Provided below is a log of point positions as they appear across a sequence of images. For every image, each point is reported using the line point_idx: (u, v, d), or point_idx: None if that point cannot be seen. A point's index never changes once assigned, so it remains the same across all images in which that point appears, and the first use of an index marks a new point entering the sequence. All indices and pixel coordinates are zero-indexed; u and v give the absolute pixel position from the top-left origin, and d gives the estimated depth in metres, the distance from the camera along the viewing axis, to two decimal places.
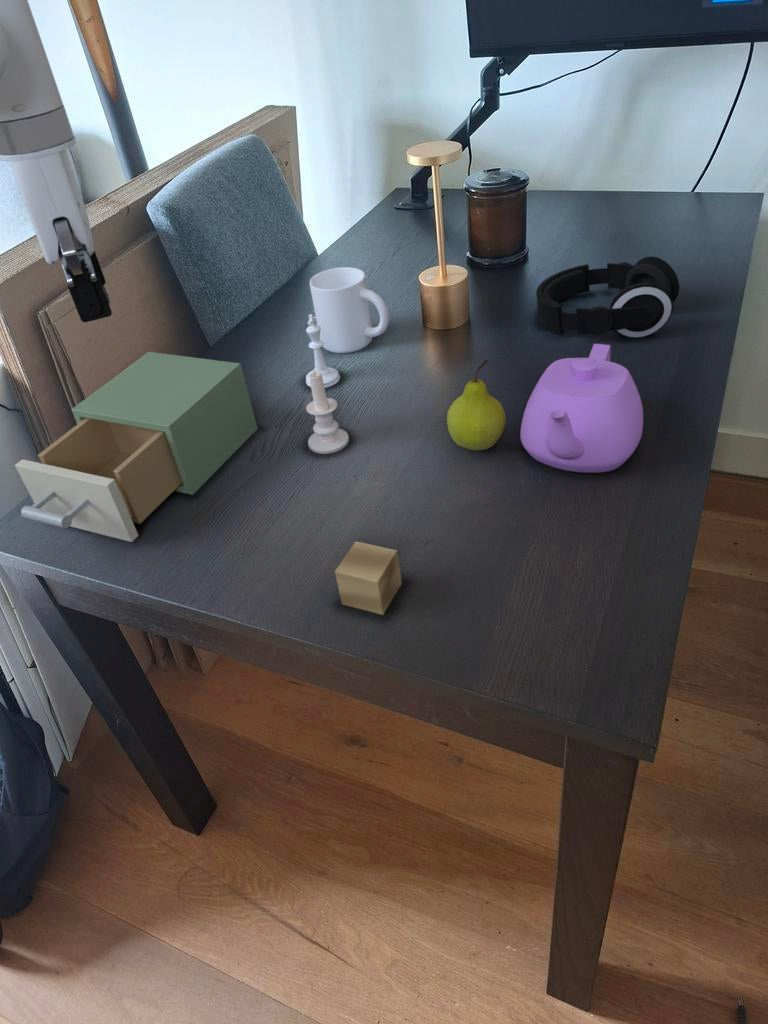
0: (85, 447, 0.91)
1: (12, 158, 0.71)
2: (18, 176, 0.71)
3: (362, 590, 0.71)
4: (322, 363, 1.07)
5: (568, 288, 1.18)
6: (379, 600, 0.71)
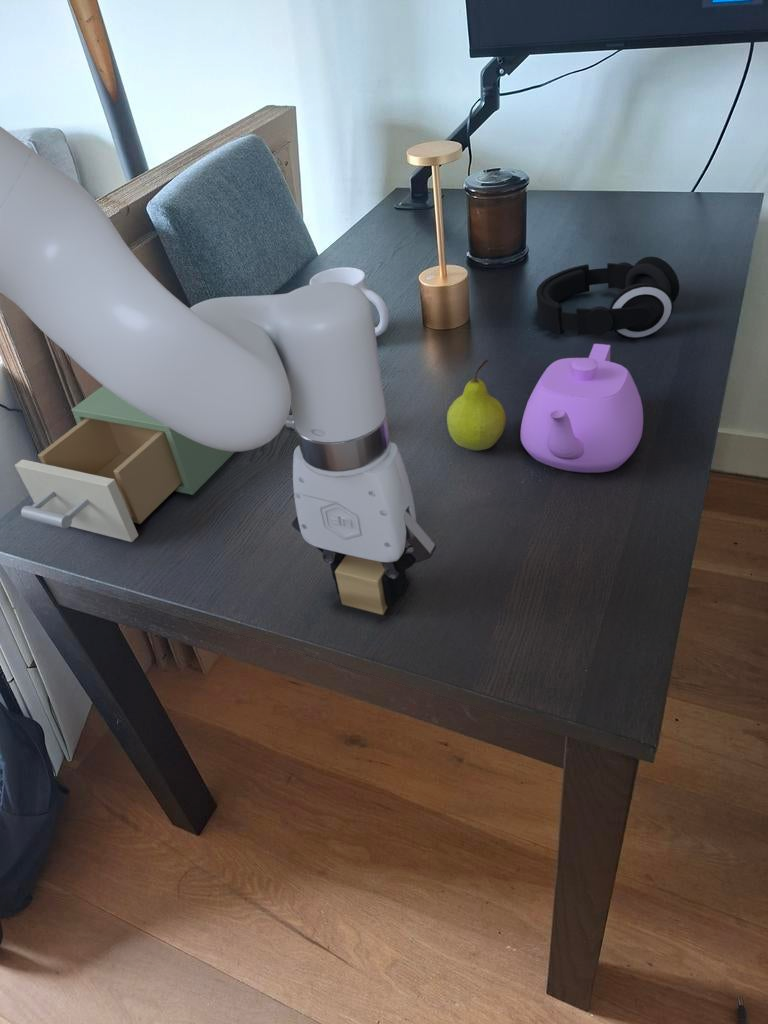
0: (85, 447, 0.91)
1: (366, 468, 0.61)
2: (382, 484, 0.61)
3: (362, 590, 0.71)
4: None
5: (568, 288, 1.18)
6: (379, 600, 0.71)
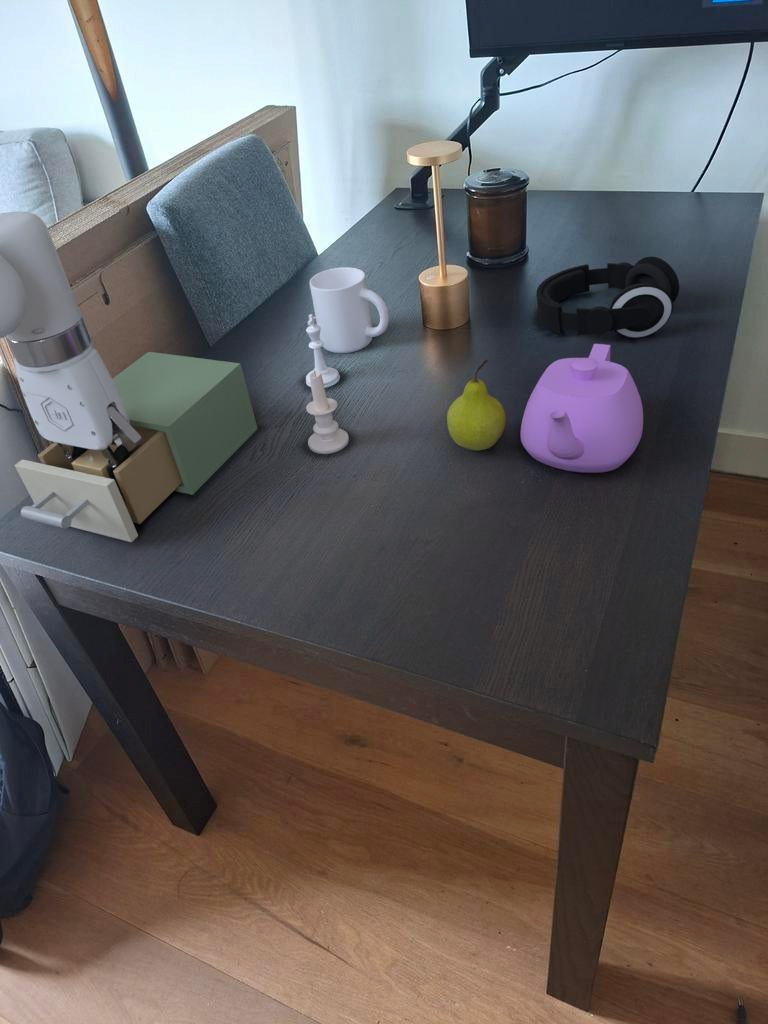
0: None
1: (61, 365, 0.75)
2: (75, 379, 0.76)
3: None
4: (322, 363, 1.07)
5: (568, 288, 1.18)
6: None
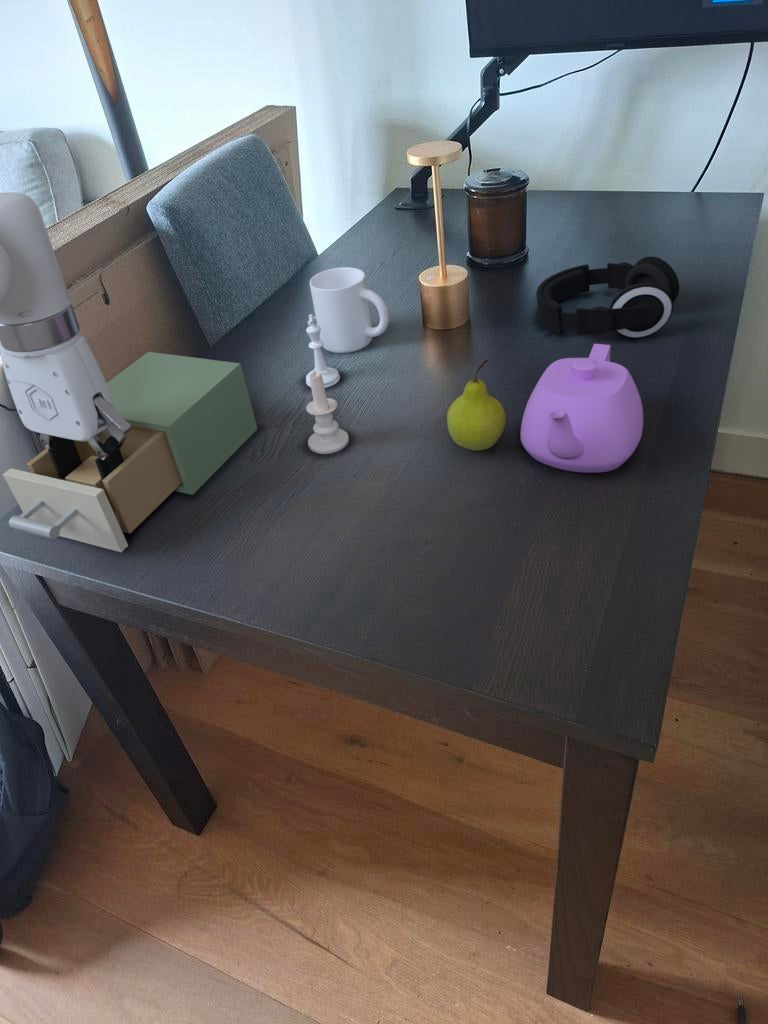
0: None
1: (47, 351, 0.74)
2: (61, 366, 0.74)
3: None
4: (322, 363, 1.07)
5: (568, 288, 1.18)
6: None
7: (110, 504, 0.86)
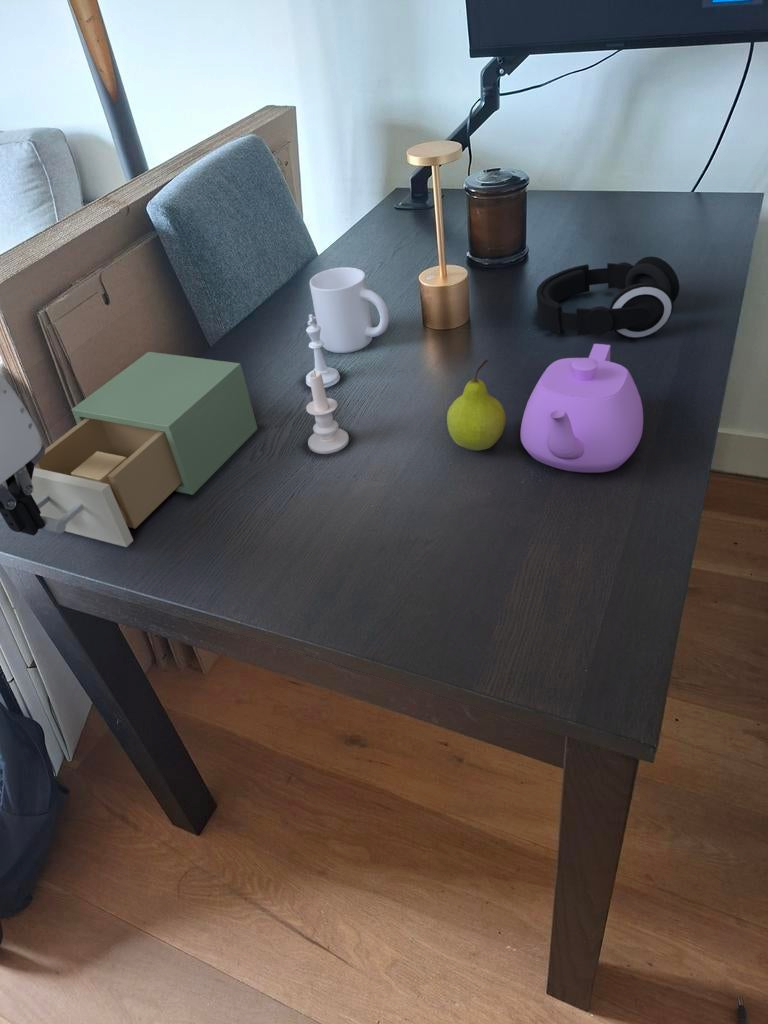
0: (80, 452, 0.90)
1: None
2: None
3: None
4: (322, 363, 1.07)
5: (568, 288, 1.18)
6: None
7: None
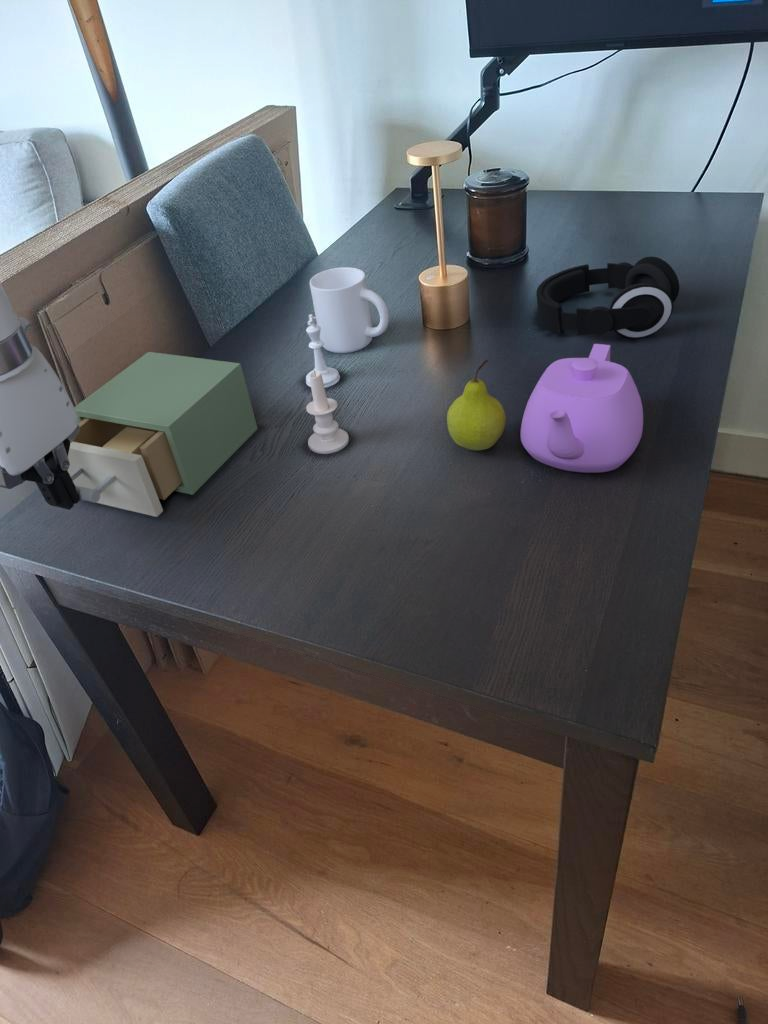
0: (110, 427, 0.94)
1: None
2: None
3: None
4: (322, 363, 1.07)
5: (568, 288, 1.18)
6: None
7: None
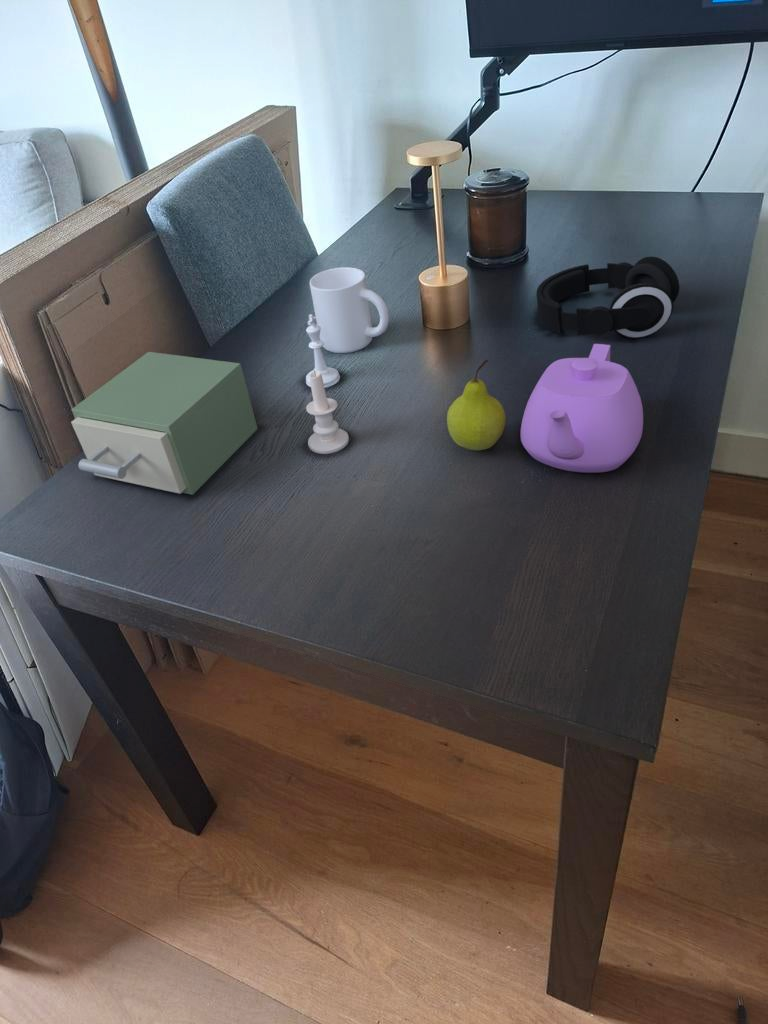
0: None
1: None
2: None
3: None
4: (322, 363, 1.07)
5: (568, 288, 1.18)
6: None
7: None
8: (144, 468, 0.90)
